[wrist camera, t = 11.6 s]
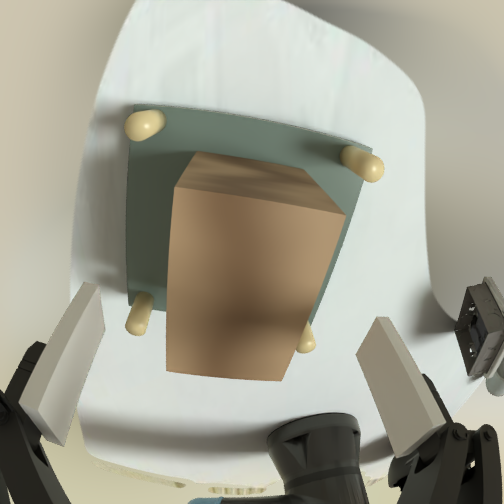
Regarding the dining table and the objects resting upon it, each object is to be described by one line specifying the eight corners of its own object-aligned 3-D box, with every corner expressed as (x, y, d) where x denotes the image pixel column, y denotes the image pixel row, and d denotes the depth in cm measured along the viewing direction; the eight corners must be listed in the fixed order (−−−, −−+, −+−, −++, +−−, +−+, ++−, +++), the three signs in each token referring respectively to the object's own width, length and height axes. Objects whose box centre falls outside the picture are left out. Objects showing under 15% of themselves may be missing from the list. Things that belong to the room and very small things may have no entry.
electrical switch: (472, 326, 32) (500, 374, 24) (443, 336, 32) (469, 389, 24) (488, 271, 27) (528, 321, 19) (457, 281, 28) (497, 336, 20)
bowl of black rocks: (369, 462, 55) (385, 522, 39) (393, 429, 45) (420, 507, 29) (434, 439, 55) (454, 492, 39) (467, 400, 46) (497, 463, 29)
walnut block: (303, 169, 19) (346, 215, 12) (267, 302, 24) (281, 381, 17) (197, 150, 18) (174, 186, 11) (181, 291, 23) (166, 371, 16)
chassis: (364, 144, 20) (397, 160, 15) (306, 316, 27) (319, 355, 23) (141, 104, 17) (114, 107, 13) (132, 295, 25) (117, 334, 20)
